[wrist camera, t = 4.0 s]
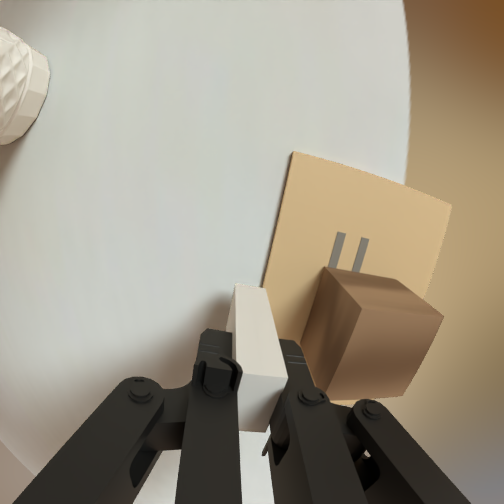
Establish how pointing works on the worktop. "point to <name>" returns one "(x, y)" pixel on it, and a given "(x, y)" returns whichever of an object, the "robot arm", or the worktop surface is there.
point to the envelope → (347, 236)
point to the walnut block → (366, 335)
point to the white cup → (20, 85)
